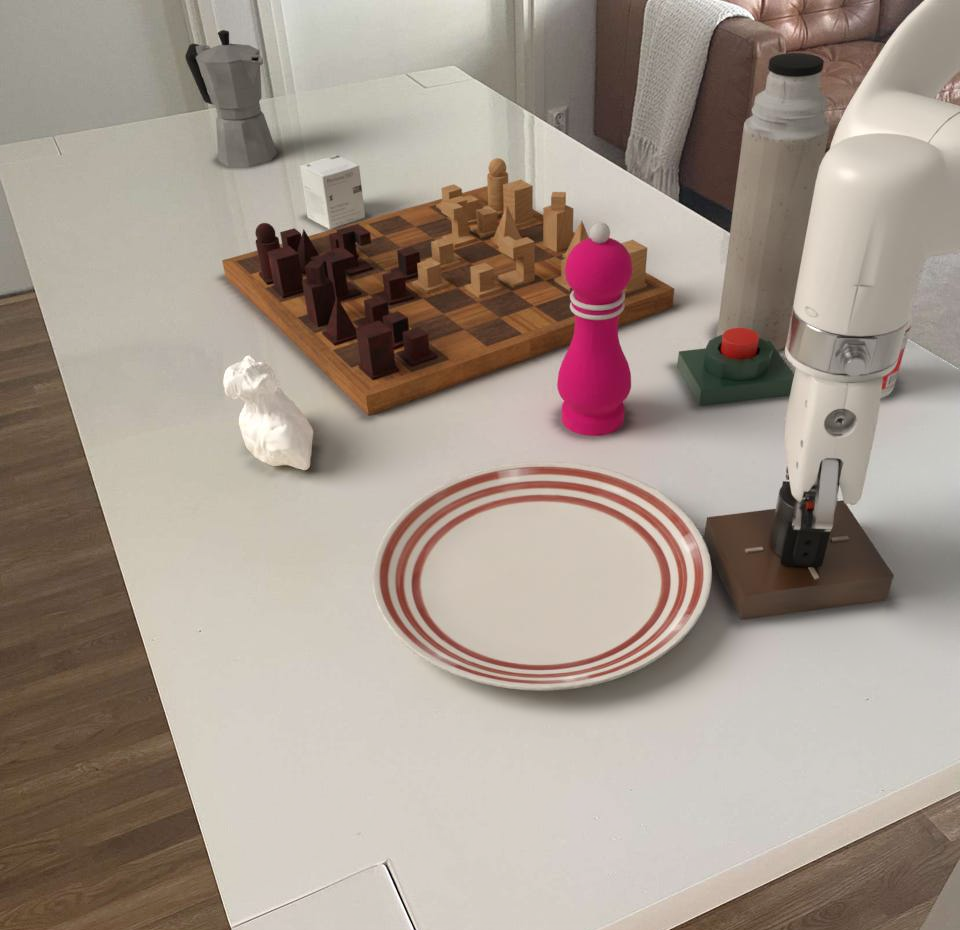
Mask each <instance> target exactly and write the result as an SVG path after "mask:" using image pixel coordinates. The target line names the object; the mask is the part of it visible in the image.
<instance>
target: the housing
mask: <svg viewBox="0 0 960 930" xmlns="http://www.w3.org/2000/svg"><path fill="white" fill-rule="evenodd" d="M722 337H723V335H720V336H718V337H717V336H716V337H714V338H712V339H710V340H709V341H708V342H707V345H706V347H705V348H696V349H687V350H686V349H685V350H679V351H678V355H677V364H676V369H677V370H678V372H679V374H680V375H681V377H682V379H683V380H684V382H685V384H686V386H687V387H688V390H690V393H691V395H692V396H693V398H694V400H695V402H696V404H697V406H698V407H704V406H705V407H706V406H712V405H720V404H721V405H722V404H729V403H731V404H732V403H738V402H739V403H740V402H747V401H755V400H764V399H773V398H781V397H788V396H789V397H790V393H791V388H792V383H793V378H794V374H795V373H794V372H793V371H792V370H791V368H790V367H789V365H788V363H786V361H785V360H784V358H783V357H782V356H781V354H780V353H779V352H778V351H777V350H776V349H775V347H774V346H773V345H772V343H771V342H770V341H765V340H763V339H761V338H759V341H758V347H757V353H756V355H755V356H754V357H752V358H750V359H741V360H740V359H734V358H729V357H727V356H725V355H723V354H722V353H721V344H722Z"/></svg>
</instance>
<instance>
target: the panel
mask: <svg viewBox="0 0 960 930" xmlns="http://www.w3.org/2000/svg"><path fill="white" fill-rule="evenodd" d="M775 510H776V508H769V509H762V510H754V511H748V512H747V511H746V512H738V513H737V512H736V513H731V514H729V513H728V514H722V515H713V516H706V519H705V527H704V534H703V539H704V541H705V543H706V546H707V548H708V552H709V555H710V560H711V562H712V563H713V565H714V567H715V569H716V572H717V573H718V575H719V578H720V580H721V582H722V584H723V586H724V588H725V590H726V592H727V594H728V597H729V599H730V600H731V603H732V604H733V606H734V609H735V611H736V613H737V615H738V618H739V620H741V621H743V620H749V619H750V620H751V619H758V618H759V619H760V618H765V617H773V616H781V615H788V614H789V615H790V614H797V613H802V612H803V613H804V612H810V611H818V610H826V609H833V608H841V607H848V606H849V607H850V606H856V605H857V606H858V605H865V604H871V603H880V602H886V601H887V600H888V597H889V592H890V589H891V586H892V583H893V581H894V577H895V574H894V573H893V572H892V570H891V569H890V567H889V565H888V564H887V562H886V561H885V560H884V558H883V557H882V555H881V554H880V552H879V551H878V549H877V547H875V545H874V543H873V542H872V541H871V539H870V537H869V536H868V535H867V533H866V532H865V530H864V529H863V527H862V525H861V524H860V523H859V521H858V520H857V518H856V517H855V515H854V513H853V512H852V510H851V509H850V508H849V506H848V504H844V500H843V499H842V500H841V499H840V500H837V504H836V508H835V512H834V520H833V527H832V530H831V532H830V536H829V540H828V544H827V548H826V552H825V556H824V560H823V564H822V566H820V567H818V568H815V567H797V566H783V565H782V564H781V562H780V556H779V555H778V554H776V553H775V552H774V551H773V550H772V548H771V546H770V542H769V540H770V535H771V530H772V525H773V520H774V515H775Z"/></svg>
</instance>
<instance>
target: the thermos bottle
mask: <svg viewBox="0 0 960 930" xmlns="http://www.w3.org/2000/svg"><path fill="white" fill-rule="evenodd" d="M824 64H825V60H824V59H823V58H822V57H820V56H818V55H815V54H812V53H811V54H810V53H803V52H789V53H788V52H787V53H779V54H776V55H774V56H772V57H770V58H769V60H768V66H767V67H768V68H767V69H768V71H769V73H768V74H767V76H766V83H765V84H766V85H765V89H764V90H762V91H761V92H759V93H758V94H756V95H755V97H754V102H753V106H752V107H751V113H752V115H751V116H749V117H748V118H746V120H745V121H744V123H743V130H742V137H741V144H740V154H739V161H738V167H737V176H736V182H735V184H736V185H735V192H734V198H733V207H732V214H731V223H730V229H729V236H728V237H729V238H728V246H727V254H726V260H725V261H726V262H725V269H724V277H723V286H722V292H721V299H720V307H719V316H718V323H717V330H716V331H717V332H716V337H718V336H720V335H723V333H724V332H725V331H727V330H729V329H732V328H747V329H750V330H753V331H755V332H756V333H757V334H758V336H759V338H761V339H763V340H765V341H770V342H771V343H772V345H773V346H774V347H775V349H776V350H777V352H778V351H781V350H782V349H785V347H786V341H787V336H788V330H789V325H790V319H791V314H792V309H793V304H794V299H795V293H796V287H797V282H798V276H799V271H800V265H801V260H802V254H803V249H804V243H805V238H806V232H807V227H808V221H809V216H810V210H811V205H812V200H813V194H814V189H815V183H816V179H817V174H818V170H819V166H820V164H821V162H822V160H823V158H824V156H825V154H826V149H827V143H828V139H829V138H828V137H829V133H830V124H829V122H828V120H826V119H825V118H824V117H825V113H826V111H827V110H828V107H827V98H826V96H825V95H824V94H823V93H822V92H821V91H820V87H821V79H822V77H821V72H822V71H823V69H824Z"/></svg>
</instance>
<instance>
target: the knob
mask: <svg viewBox="0 0 960 930" xmlns="http://www.w3.org/2000/svg"><path fill="white" fill-rule="evenodd" d="M787 481H788V482H786V483H785V484H784V485H783V486H782V485H781V487H780V488H779V491H778V495H777V501H776V506H775V509H776V510H775V515H774V520H773V525H772V530H771V535H770V540H769V542H770V546H771V548H772V550H773V551H774V552H775V553H776V554H778V555H779V556H781V552H782V547H783V542H784V538H785V533H786V528H787V523H788V522H792V520H793V514H794V508H795V502H796V499H795V498H794V497H793V496H792V493H791V488H790V481H789V480H787ZM811 489H816V486H815V485H813V486H812V487H811ZM837 501H839V499H838V497H837ZM837 501H836V504H837ZM814 505H815V502H808V501H805V507H804V513H805V512H807V511H808V512H813V510H814ZM835 508H836V506H835ZM804 513H803V514H804Z"/></svg>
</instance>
